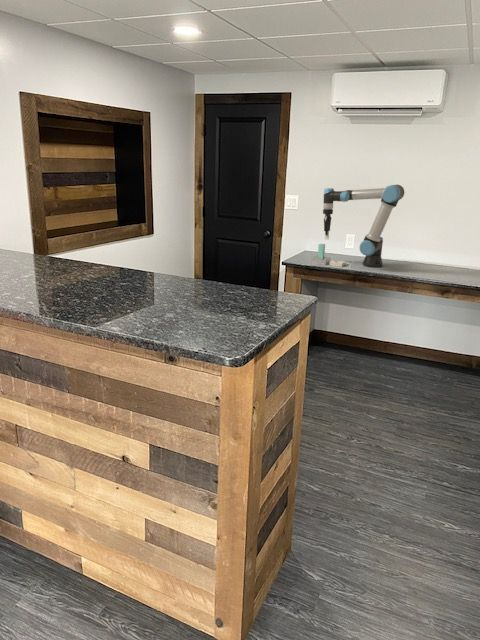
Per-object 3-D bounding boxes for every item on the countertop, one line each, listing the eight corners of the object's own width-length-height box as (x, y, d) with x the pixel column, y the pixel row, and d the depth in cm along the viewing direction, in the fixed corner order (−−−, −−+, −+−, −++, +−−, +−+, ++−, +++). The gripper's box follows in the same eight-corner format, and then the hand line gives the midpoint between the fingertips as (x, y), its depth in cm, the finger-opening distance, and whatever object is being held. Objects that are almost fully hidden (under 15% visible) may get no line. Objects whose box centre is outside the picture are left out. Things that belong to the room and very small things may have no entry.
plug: (323, 262, 404) (325, 244, 399) (322, 263, 400) (323, 244, 396) (319, 262, 406) (320, 243, 401) (317, 262, 402) (318, 244, 397)
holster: (345, 264, 399) (345, 261, 398) (341, 266, 390) (342, 263, 390) (333, 263, 403) (333, 259, 402) (329, 265, 395) (329, 262, 394)
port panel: (330, 262, 405) (330, 256, 404) (325, 265, 395) (325, 259, 394) (316, 260, 411) (316, 255, 409) (310, 263, 401) (311, 257, 399)
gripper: (325, 207, 398) (324, 237, 405) (320, 209, 387) (319, 240, 394) (335, 208, 395) (333, 238, 402) (330, 209, 384) (328, 240, 391)
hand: (326, 239), depth 398 cm, fingers closed
